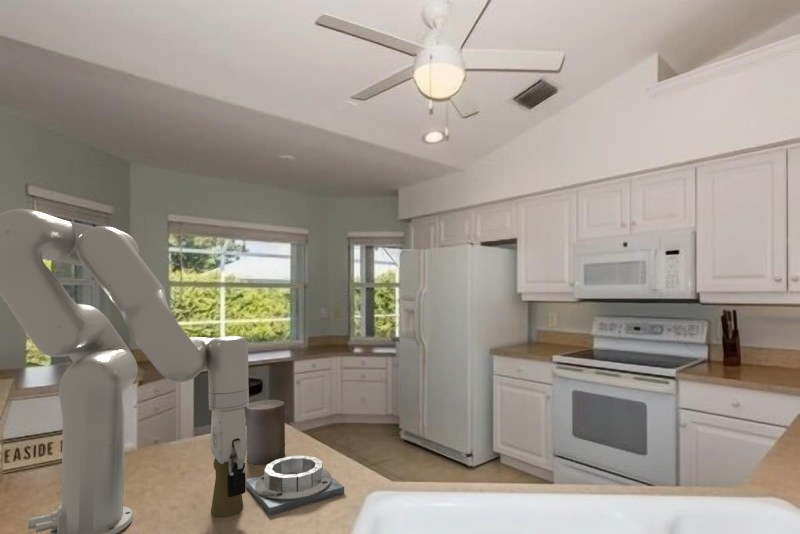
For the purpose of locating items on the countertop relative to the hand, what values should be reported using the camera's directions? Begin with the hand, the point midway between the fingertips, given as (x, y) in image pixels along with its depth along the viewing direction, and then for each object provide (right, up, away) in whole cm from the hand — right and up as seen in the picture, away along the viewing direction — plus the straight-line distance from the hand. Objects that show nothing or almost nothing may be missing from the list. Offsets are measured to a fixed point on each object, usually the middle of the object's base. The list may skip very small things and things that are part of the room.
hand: (230, 485), depth 90 cm
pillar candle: (-1, -6, +27) cm, 28 cm away
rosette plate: (+11, -5, +8) cm, 14 cm away
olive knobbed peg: (0, -5, 0) cm, 5 cm away
